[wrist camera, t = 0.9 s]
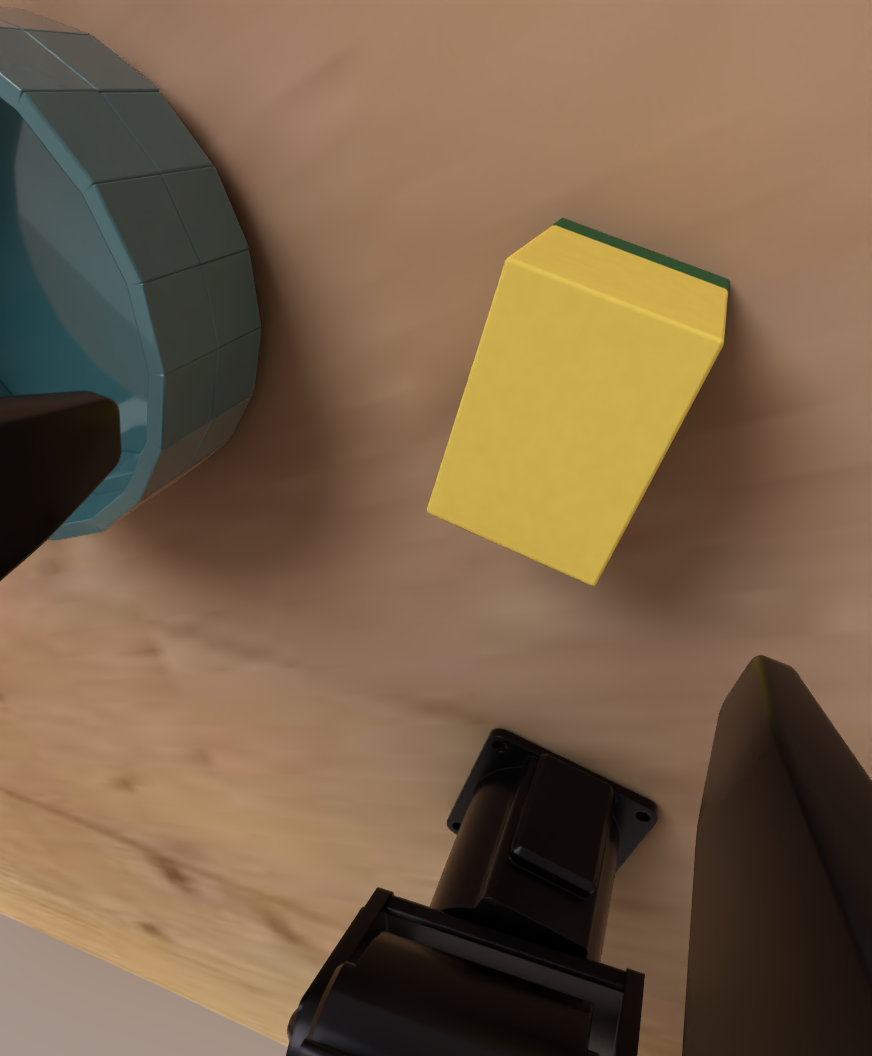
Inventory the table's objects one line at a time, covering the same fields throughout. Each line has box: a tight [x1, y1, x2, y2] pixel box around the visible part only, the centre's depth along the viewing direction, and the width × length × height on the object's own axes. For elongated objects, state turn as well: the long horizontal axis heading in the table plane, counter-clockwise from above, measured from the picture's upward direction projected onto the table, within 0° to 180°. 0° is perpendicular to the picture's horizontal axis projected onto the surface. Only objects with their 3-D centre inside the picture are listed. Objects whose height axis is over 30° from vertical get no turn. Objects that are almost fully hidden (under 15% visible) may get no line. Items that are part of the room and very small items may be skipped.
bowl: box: [0, 7, 262, 540], centre depth 21 cm, size 14×14×5 cm
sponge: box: [427, 218, 730, 586], centre depth 17 cm, size 6×4×5 cm
